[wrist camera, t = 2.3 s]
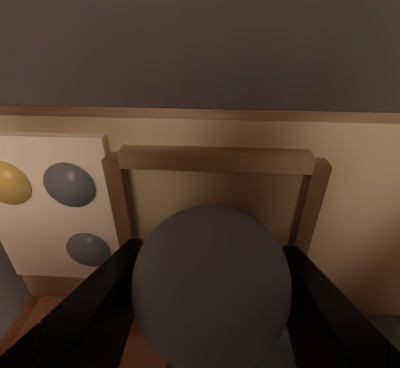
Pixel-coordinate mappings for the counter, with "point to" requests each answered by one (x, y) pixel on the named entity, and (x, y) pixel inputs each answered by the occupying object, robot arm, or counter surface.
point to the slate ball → (211, 289)
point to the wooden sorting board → (245, 194)
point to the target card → (55, 203)
